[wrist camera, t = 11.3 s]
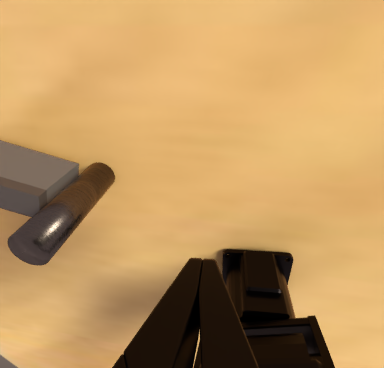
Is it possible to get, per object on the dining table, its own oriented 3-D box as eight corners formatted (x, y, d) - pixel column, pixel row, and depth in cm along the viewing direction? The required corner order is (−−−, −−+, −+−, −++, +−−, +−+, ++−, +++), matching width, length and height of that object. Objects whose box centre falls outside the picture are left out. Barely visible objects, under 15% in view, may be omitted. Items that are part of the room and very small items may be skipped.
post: (117, 187, 22) (55, 266, 14) (92, 186, 22) (18, 263, 14) (111, 162, 20) (41, 234, 13) (85, 162, 21) (0, 232, 13)
